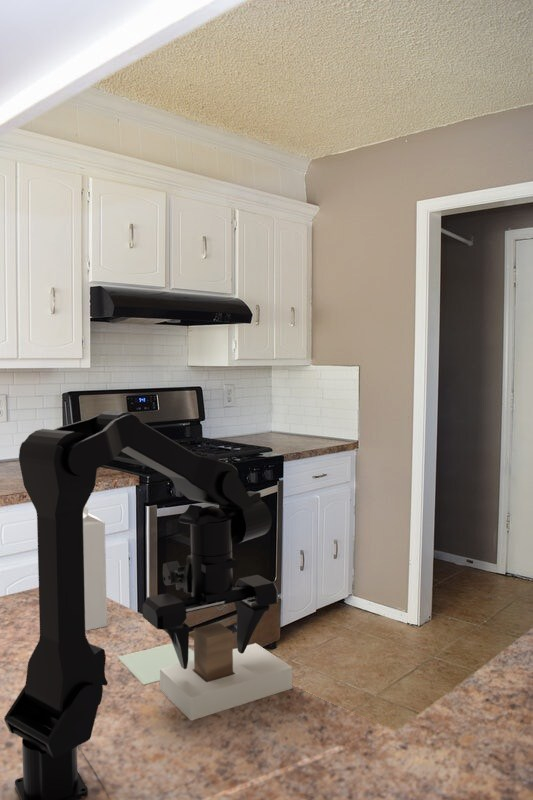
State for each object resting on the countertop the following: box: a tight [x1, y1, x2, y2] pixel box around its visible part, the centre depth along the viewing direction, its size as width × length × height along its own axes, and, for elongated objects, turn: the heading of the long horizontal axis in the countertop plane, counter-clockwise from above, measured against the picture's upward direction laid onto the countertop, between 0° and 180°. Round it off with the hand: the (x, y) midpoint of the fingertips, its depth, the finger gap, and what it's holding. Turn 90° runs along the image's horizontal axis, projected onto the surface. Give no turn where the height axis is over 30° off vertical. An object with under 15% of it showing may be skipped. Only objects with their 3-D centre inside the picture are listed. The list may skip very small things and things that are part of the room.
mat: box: [117, 642, 194, 686], centre depth 106 cm, size 11×11×1 cm
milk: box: [83, 504, 108, 632], centre depth 122 cm, size 6×6×22 cm
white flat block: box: [159, 642, 293, 721], centre depth 97 cm, size 10×16×4 cm, turn 122°
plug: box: [193, 622, 234, 682], centre depth 96 cm, size 4×4×9 cm
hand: (213, 660), depth 96 cm, fingers open, 9 cm apart
